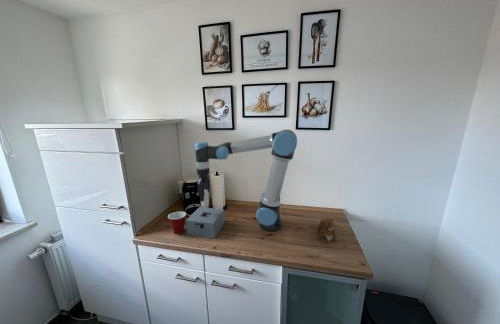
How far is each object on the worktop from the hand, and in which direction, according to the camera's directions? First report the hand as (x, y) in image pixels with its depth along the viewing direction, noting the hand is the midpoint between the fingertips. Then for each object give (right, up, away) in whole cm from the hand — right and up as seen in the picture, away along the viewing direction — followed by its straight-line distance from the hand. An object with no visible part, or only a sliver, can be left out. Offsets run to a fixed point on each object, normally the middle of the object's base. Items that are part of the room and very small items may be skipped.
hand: (205, 203), depth 126 cm
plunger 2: (+1, -10, +9) cm, 13 cm away
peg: (0, -2, +1) cm, 2 cm away
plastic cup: (-17, -18, +2) cm, 25 cm away
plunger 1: (-1, -13, -3) cm, 13 cm away
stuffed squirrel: (+74, -19, -6) cm, 76 cm away
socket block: (0, -17, +4) cm, 18 cm away
